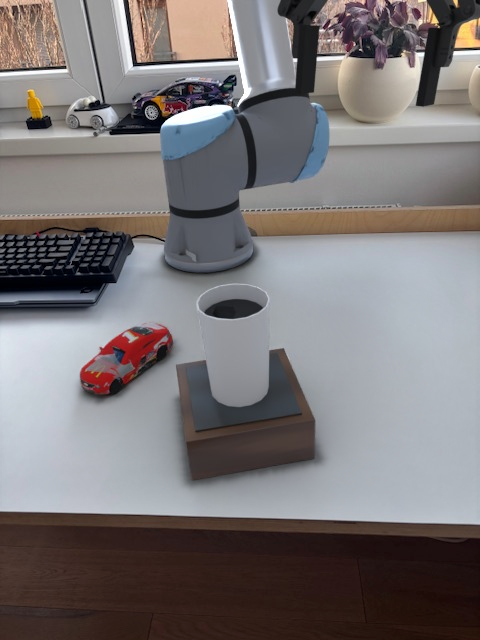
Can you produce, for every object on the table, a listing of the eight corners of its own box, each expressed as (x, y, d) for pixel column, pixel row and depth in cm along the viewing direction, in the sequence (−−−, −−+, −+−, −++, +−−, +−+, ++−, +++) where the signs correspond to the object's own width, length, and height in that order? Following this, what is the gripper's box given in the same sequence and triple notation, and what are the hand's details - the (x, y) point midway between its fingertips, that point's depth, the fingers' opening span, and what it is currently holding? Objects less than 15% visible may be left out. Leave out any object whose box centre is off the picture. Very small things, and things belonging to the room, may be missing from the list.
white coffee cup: (220, 418, 50) (210, 327, 45) (197, 378, 56) (186, 293, 51) (284, 397, 52) (282, 308, 47) (257, 361, 58) (252, 277, 52)
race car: (102, 405, 61) (95, 377, 59) (72, 388, 64) (64, 361, 62) (181, 348, 70) (177, 322, 68) (151, 335, 73) (147, 310, 71)
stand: (181, 399, 61) (175, 362, 58) (284, 383, 63) (283, 346, 60) (191, 480, 51) (185, 440, 48) (314, 458, 52) (315, 418, 50)
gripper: (567, -189, 41) (498, 107, 51) (294, -141, 55) (281, 87, 65) (544, -223, 36) (472, 115, 46) (249, -160, 50) (242, 90, 60)
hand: (360, 99), depth 56 cm, fingers open, 13 cm apart
